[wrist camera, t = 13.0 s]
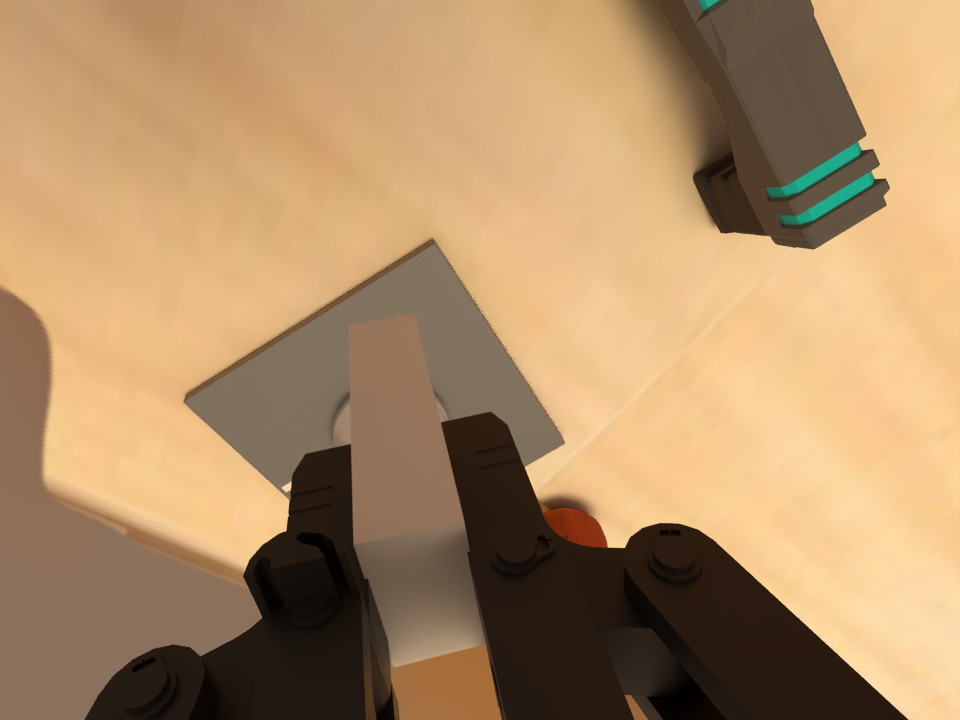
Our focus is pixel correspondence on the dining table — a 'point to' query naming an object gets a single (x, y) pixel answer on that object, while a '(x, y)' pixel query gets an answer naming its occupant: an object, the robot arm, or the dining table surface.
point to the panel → (325, 371)
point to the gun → (778, 122)
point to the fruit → (576, 527)
